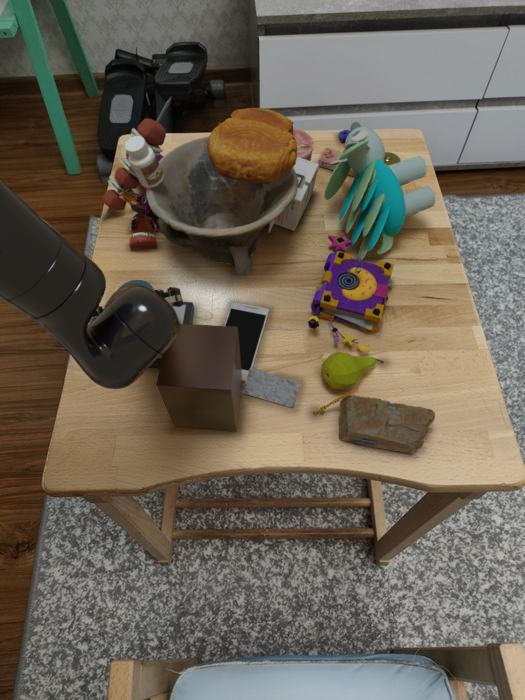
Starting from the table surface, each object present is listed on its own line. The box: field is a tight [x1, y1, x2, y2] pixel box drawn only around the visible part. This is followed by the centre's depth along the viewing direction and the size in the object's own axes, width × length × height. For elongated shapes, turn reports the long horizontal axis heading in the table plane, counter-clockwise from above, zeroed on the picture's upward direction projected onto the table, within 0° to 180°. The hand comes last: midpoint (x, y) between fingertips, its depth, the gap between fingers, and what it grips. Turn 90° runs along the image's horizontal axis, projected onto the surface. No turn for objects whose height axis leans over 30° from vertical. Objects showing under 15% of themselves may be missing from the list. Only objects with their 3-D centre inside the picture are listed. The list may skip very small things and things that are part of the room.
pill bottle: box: [124, 136, 164, 188], centre depth 80 cm, size 4×4×8 cm
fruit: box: [321, 351, 385, 390], centre depth 79 cm, size 6×6×12 cm
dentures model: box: [128, 213, 160, 250], centre depth 95 cm, size 6×4×8 cm
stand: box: [155, 323, 243, 432], centre depth 72 cm, size 10×10×15 cm
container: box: [293, 127, 315, 161], centre depth 103 cm, size 10×10×8 cm
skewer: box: [101, 96, 172, 221], centre depth 95 cm, size 5×5×30 cm
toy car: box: [119, 188, 159, 223], centre depth 95 cm, size 6×12×5 cm
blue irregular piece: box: [337, 129, 351, 144], centre depth 112 cm, size 9×5×3 cm, turn 40°
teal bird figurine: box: [324, 121, 436, 261], centre depth 91 cm, size 14×26×18 cm
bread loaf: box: [207, 107, 297, 183], centre depth 82 cm, size 14×16×8 cm
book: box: [307, 231, 396, 352], centre depth 84 cm, size 14×25×12 cm, turn 162°
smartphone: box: [223, 301, 270, 383], centre depth 84 cm, size 7×16×1 cm, turn 166°
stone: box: [338, 394, 436, 455], centre depth 73 cm, size 14×7×5 cm, turn 78°
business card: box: [240, 367, 301, 408], centre depth 79 cm, size 9×5×1 cm, turn 74°
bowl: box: [145, 136, 298, 278], centre depth 90 cm, size 27×26×15 cm
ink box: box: [267, 157, 320, 234], centre depth 97 cm, size 9×5×15 cm
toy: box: [317, 147, 357, 178], centre depth 107 cm, size 12×2×5 cm
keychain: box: [312, 390, 355, 416], centre depth 75 cm, size 8×1×1 cm
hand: (138, 301), depth 79 cm, fingers closed on jar, 6 cm apart
